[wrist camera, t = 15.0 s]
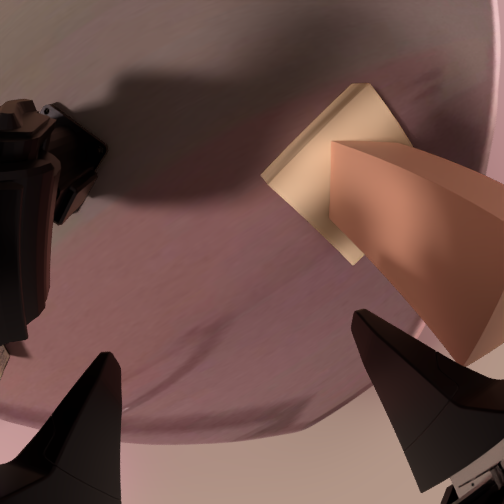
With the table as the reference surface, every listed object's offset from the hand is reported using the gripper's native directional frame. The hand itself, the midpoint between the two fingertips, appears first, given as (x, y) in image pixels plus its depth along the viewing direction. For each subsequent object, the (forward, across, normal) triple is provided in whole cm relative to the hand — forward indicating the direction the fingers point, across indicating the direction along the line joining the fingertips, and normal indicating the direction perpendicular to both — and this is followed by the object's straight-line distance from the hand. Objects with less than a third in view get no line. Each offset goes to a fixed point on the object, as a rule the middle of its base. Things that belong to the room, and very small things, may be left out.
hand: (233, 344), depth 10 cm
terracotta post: (+10, -11, -2) cm, 15 cm away
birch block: (+14, -11, -2) cm, 17 cm away
